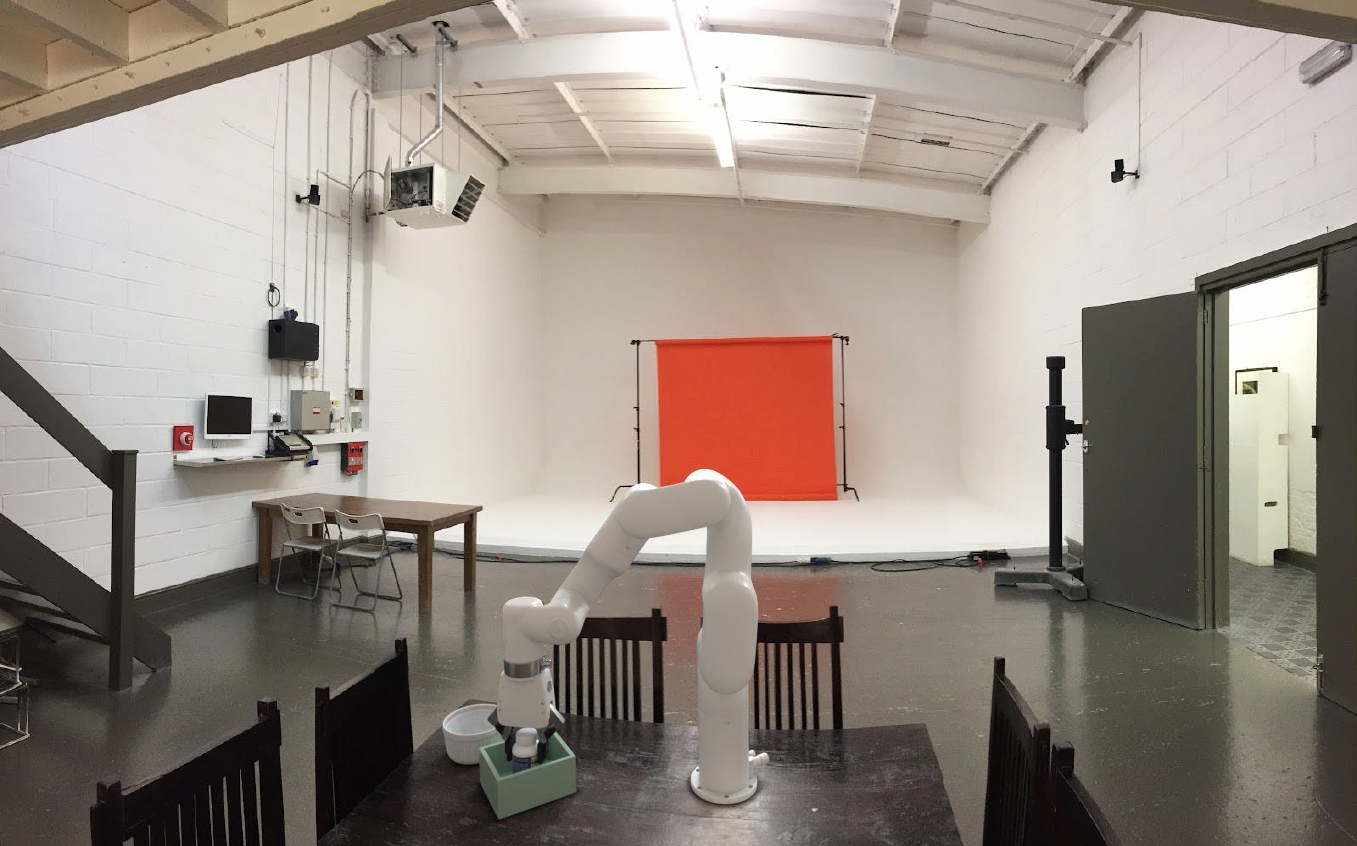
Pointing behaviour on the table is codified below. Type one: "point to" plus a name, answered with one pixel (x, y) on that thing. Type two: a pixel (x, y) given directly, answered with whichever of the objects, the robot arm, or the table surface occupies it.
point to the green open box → (526, 778)
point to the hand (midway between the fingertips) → (527, 757)
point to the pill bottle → (525, 750)
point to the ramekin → (469, 732)
